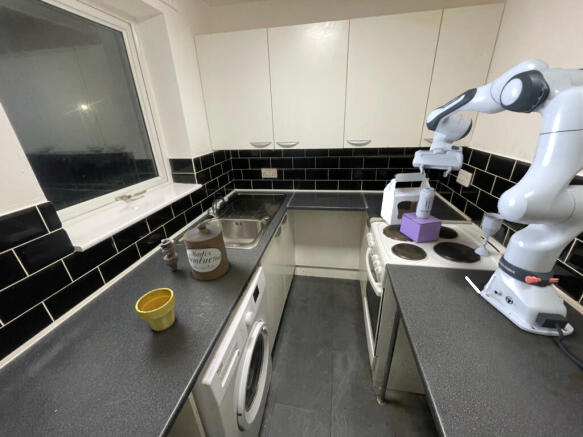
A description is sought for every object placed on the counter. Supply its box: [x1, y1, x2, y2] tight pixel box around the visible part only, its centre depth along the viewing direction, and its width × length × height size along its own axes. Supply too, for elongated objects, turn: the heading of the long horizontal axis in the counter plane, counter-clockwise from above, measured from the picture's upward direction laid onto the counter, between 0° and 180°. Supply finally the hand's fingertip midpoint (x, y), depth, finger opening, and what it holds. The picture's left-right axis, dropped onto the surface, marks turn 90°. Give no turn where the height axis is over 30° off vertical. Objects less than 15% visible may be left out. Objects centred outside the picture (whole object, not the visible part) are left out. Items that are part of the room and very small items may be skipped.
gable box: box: [380, 172, 431, 226], centre depth 132 cm, size 22×13×28 cm, turn 92°
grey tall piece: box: [159, 238, 179, 272], centre depth 96 cm, size 6×6×15 cm
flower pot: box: [134, 287, 177, 332], centre depth 71 cm, size 10×10×10 cm
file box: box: [399, 212, 443, 244], centre depth 117 cm, size 13×12×10 cm
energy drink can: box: [416, 186, 436, 219], centre depth 112 cm, size 6×6×15 cm
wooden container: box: [182, 222, 230, 281], centre depth 94 cm, size 15×15×22 cm
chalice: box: [474, 212, 505, 257], centre depth 99 cm, size 7×7×18 cm
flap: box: [412, 215, 443, 224], centre depth 112 cm, size 6×12×1 cm, turn 103°
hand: (433, 175), depth 108 cm, fingers open, 8 cm apart
